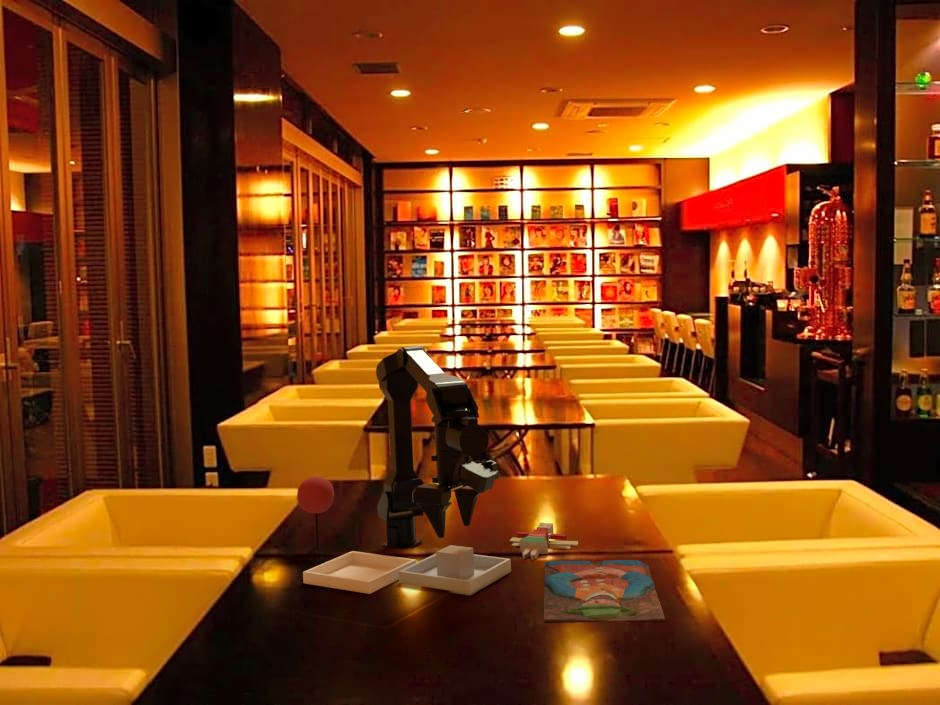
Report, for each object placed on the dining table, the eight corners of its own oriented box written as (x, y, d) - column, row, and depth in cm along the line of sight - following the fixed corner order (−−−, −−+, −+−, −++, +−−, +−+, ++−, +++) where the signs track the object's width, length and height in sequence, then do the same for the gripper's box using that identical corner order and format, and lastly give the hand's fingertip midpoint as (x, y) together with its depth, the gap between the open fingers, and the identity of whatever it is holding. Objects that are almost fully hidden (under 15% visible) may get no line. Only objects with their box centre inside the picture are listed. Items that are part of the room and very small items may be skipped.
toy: (491, 547, 203) (513, 519, 217) (493, 565, 204) (514, 535, 217) (563, 551, 198) (580, 522, 212) (564, 570, 199) (581, 539, 212)
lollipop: (329, 552, 211) (325, 480, 210) (294, 551, 213) (290, 480, 212) (341, 542, 219) (338, 473, 218) (307, 541, 220) (304, 473, 219)
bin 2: (442, 562, 201) (442, 550, 200) (510, 571, 193) (510, 559, 193) (399, 584, 188) (398, 571, 187) (470, 595, 180) (469, 581, 180)
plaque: (648, 559, 193) (665, 612, 163) (648, 570, 193) (665, 625, 164) (544, 560, 195) (542, 613, 165) (544, 571, 195) (543, 626, 165)
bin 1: (353, 563, 203) (352, 551, 202) (416, 572, 195) (416, 559, 195) (303, 585, 190) (302, 571, 189) (369, 595, 182) (369, 582, 182)
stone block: (451, 570, 194) (450, 545, 193) (474, 574, 191) (473, 547, 191) (437, 578, 189) (436, 551, 189) (460, 581, 187) (459, 554, 186)
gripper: (462, 460, 176) (465, 549, 177) (513, 442, 192) (516, 524, 193) (408, 456, 182) (412, 542, 183) (462, 439, 198) (465, 518, 199)
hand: (454, 531), depth 189 cm, fingers open, 9 cm apart
